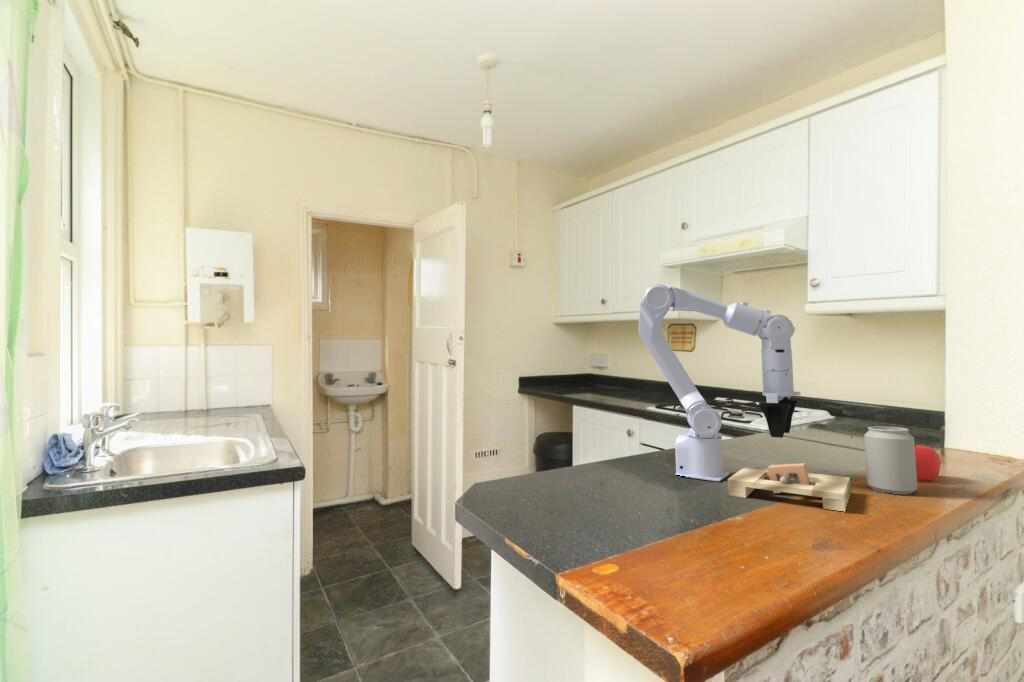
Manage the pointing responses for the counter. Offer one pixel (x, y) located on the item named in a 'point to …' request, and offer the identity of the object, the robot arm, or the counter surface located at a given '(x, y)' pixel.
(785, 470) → the pink arch
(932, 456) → the apple
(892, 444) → the can
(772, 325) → the robot arm
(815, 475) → the wooden slotted stand
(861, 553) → the counter surface
